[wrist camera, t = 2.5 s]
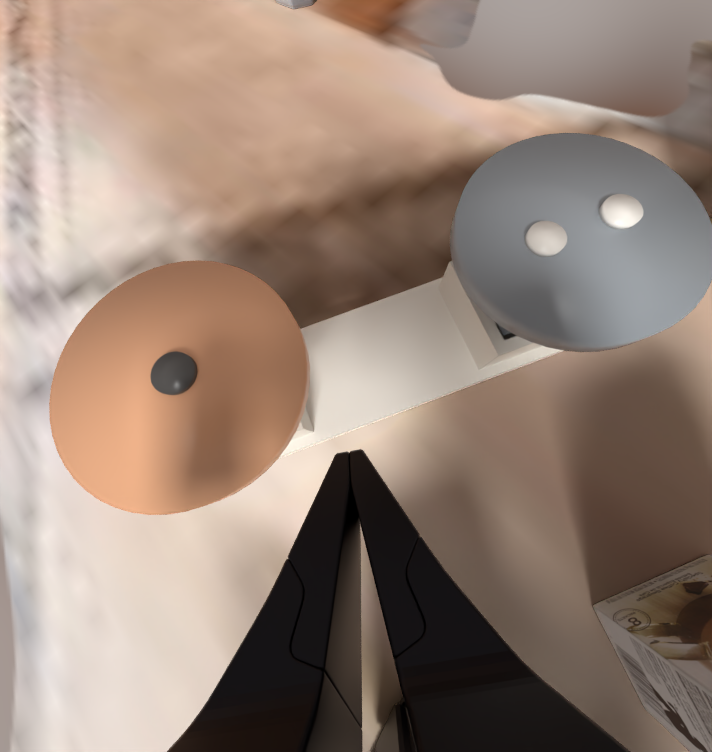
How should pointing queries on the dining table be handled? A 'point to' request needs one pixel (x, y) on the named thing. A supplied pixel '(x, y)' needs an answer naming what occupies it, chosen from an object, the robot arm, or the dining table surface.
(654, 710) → the coffee box
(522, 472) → the dining table surface
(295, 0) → the ceramic cup
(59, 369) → the brown round domed piece
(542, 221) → the two dot key
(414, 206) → the dining table surface
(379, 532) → the robot arm
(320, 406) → the key console
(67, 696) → the dining table surface
